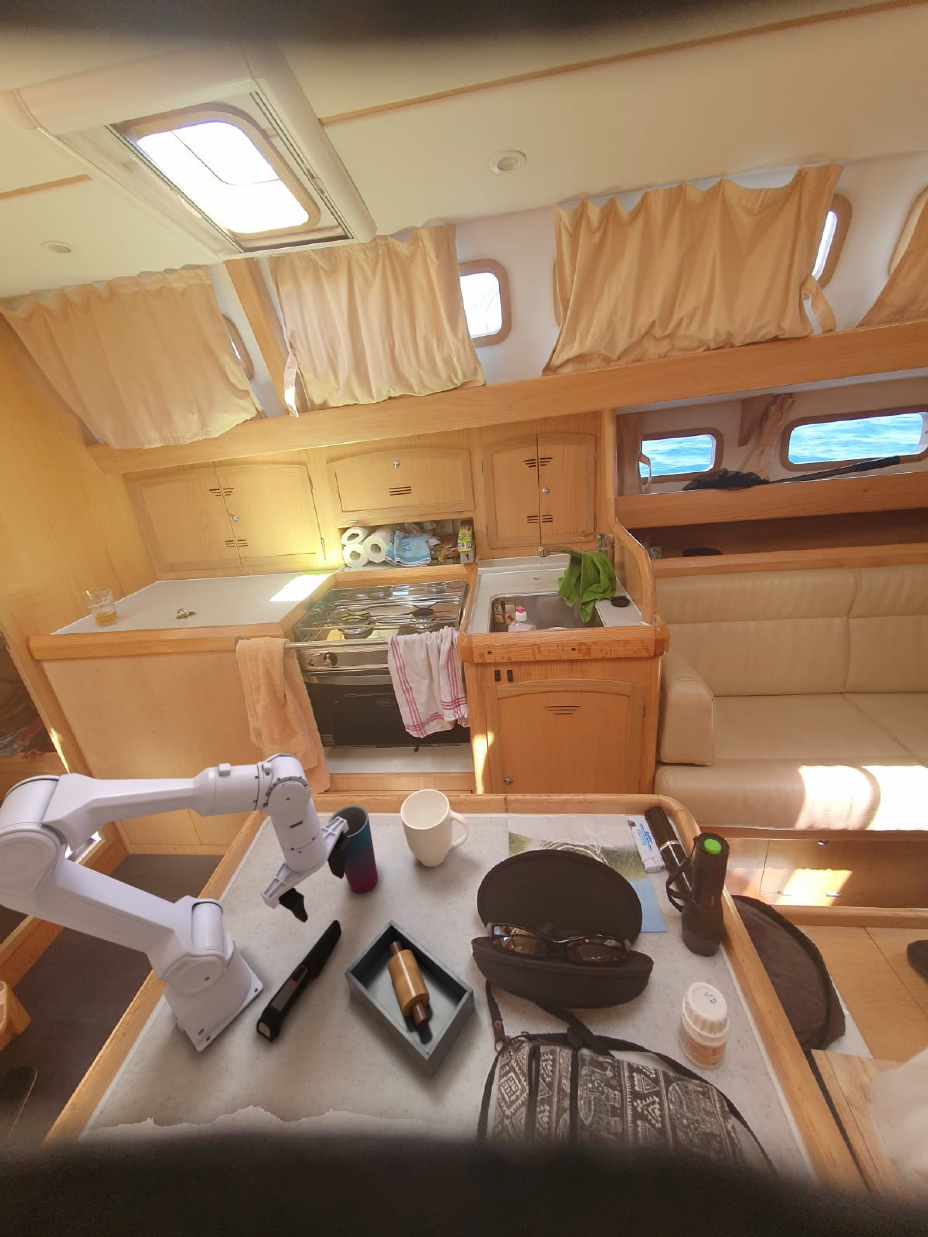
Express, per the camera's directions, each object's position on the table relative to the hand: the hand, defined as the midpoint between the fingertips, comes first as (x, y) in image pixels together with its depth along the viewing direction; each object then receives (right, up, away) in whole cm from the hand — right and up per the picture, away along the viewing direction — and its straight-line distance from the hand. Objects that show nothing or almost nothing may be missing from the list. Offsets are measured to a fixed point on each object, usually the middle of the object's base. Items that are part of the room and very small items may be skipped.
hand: (320, 895), depth 70 cm
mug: (+18, -2, +15) cm, 24 cm away
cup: (+4, -5, +12) cm, 13 cm away
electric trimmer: (-2, -12, -2) cm, 12 cm away
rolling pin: (+14, -11, -5) cm, 18 cm away
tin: (+15, -11, -6) cm, 19 cm away
